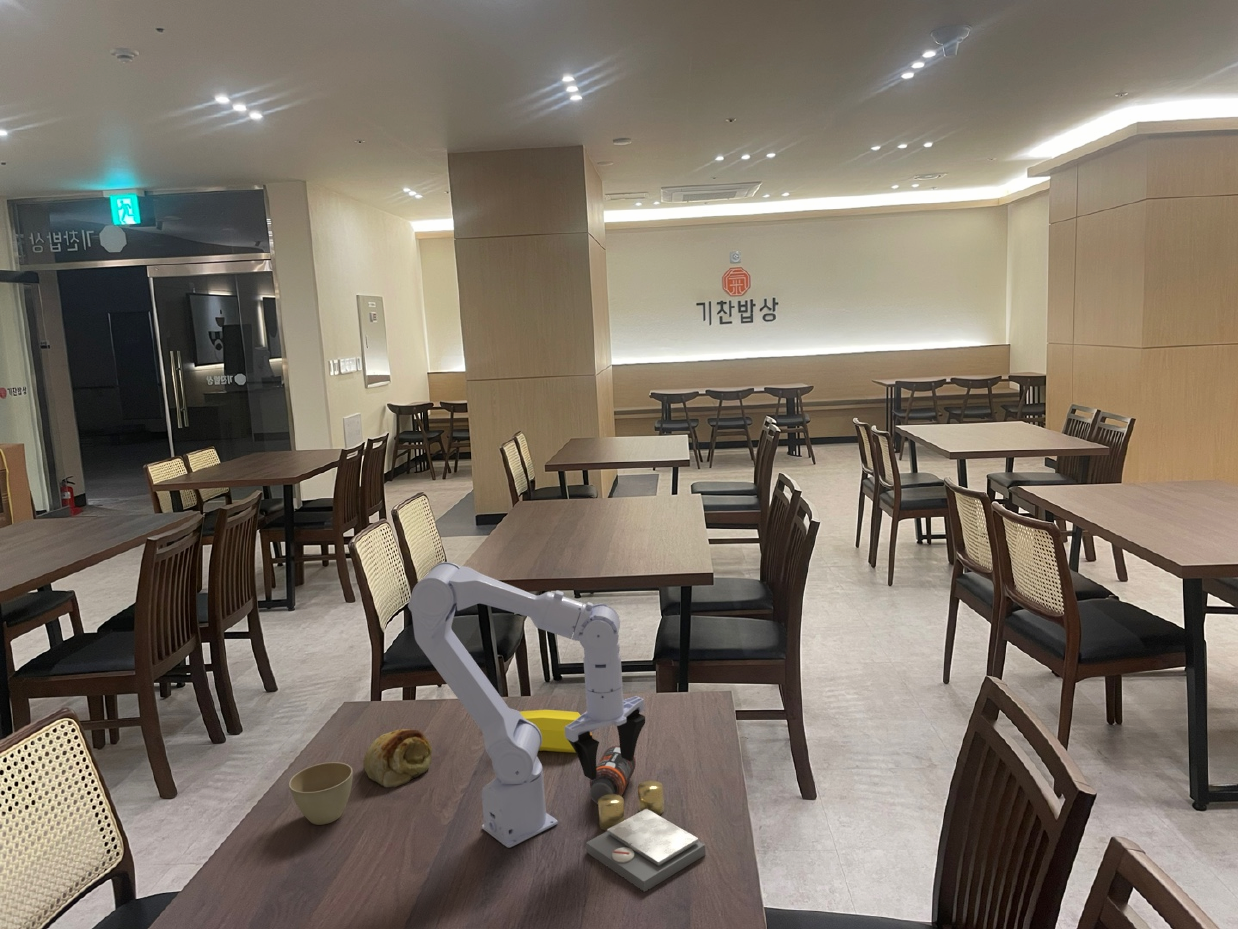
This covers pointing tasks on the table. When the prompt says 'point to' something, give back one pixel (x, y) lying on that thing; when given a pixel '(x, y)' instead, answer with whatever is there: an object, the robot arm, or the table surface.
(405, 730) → the pastry
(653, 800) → the cylinder
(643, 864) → the scale
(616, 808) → the cylinder
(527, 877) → the table surface
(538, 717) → the yellow mustard bottle
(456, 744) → the table surface
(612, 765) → the supplement bottle
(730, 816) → the table surface
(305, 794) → the flower pot
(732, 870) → the table surface
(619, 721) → the robot arm
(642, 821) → the pan
